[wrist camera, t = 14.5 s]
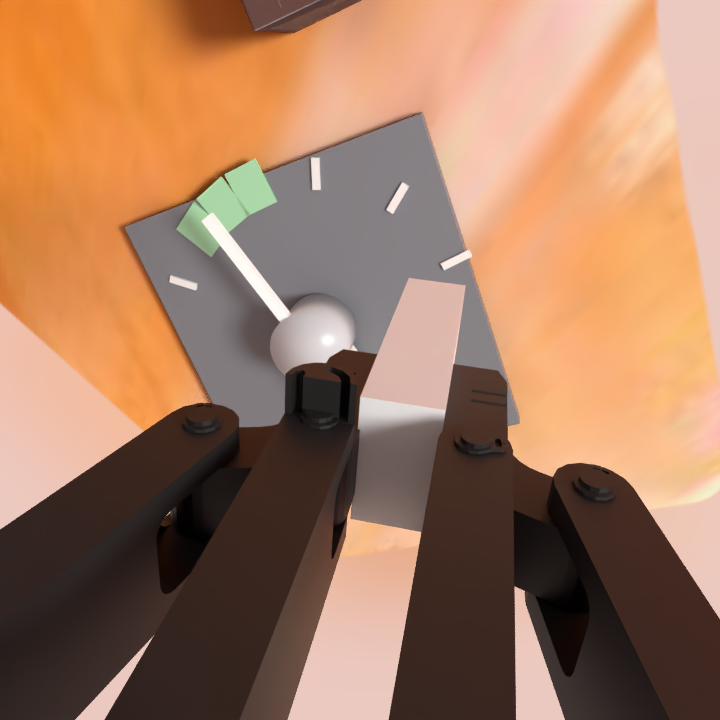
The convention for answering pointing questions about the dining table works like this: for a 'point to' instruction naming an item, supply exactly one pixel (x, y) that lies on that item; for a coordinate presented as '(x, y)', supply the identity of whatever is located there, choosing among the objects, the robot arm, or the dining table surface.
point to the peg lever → (294, 314)
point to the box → (290, 13)
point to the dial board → (311, 259)
